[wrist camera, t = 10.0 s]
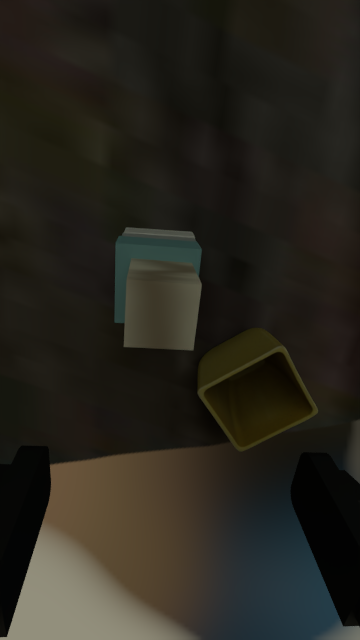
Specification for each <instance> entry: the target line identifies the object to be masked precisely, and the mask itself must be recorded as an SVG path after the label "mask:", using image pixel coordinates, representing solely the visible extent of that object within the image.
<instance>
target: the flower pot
mask: <svg viewBox="0 0 360 640" xmlns="http://www.w3.org/2000/svg"><path fill="white" fill-rule="evenodd" d="M197 393H198V395H199V397H200V399H201V400H202V401H203V403H204V404H205V406H206V407H207V408H208V410H209V411H210V413H211V414H212V415H213V417H214V418H215V420H216V421H217V423H218V424H219V425H220V427H221V428H222V429H223V431H224V432H225V434H226V435H227V437H228V438H229V440H230V441H231V443H232V444H233V445H234V447H235V448H236V449H237V450H238V451H240V452H241V451H244V450H246V449H249V448H251V447H253V446H255V445H257V444H259V443H260V442H263V441H265V440H267V439H269V438H270V437H273V436H275V435H277V434H279V433H281V432H283V431H285V430H287V429H289V428H291V427H293V426H295V425H297V424H299V423H302V422H303V421H305V420H307V419H309V418H311V417H313V416H314V415H315V414H317V413H318V409H317V407H316V405H315V403H314V401H313V400H312V398H311V396H310V395H309V393H308V391H307V389H306V388H305V386H304V384H303V382H302V380H301V378H300V376H299V374H298V372H297V370H296V368H295V366H294V364H293V362H292V360H291V358H290V356H289V354H288V352H287V350H286V348H285V347H284V346H283V345H282V344H281V343H280V342H279V341H277V340H276V339H275V338H274V337H273V336H272V335H271V334H270V333H268V332H267V331H266V330H264V329H261V328H251V329H248V330H245V331H243V332H242V333H240V334H238V335H236V336H234V337H233V338H231V339H229V340H227V341H225V342H224V343H222V344H220V345H218V346H216V347H214V348H213V349H211V350H210V351H208V352H207V353H206V354H205V355H204V356H203V357H202V359H201V360H200V362H199V366H198V391H197Z"/></svg>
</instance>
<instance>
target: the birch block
mask: <svg viewBox="0 0 360 640" xmlns="http://www.w3.org/2000/svg"><path fill="white" fill-rule="evenodd" d="M201 286H202V284H201V282H200V280H199V278H198V275H197V273H196V271H195V269H194V266H193V264H192V263H186V262H173V261H160V260H148V259H135V258H131V262H130V266H129V271H128V275H127V281H126V306H125V330H124V347H137V348H156V349H175V350H193V348H194V340H195V333H196V325H197V317H198V310H199V302H200V294H201Z"/></svg>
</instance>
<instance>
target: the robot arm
mask: <svg viewBox="0 0 360 640" xmlns="http://www.w3.org/2000/svg"><path fill="white" fill-rule="evenodd" d="M50 490H51V477H50V461H49V449H48V447H47V446H21V447H20V448H19V450H18V451H17V454H16V456H15V458H14V460H13V462H12V464H0V637H7V634H8V631H9V628H10V625H11V622H12V618H13V615H14V612H15V608H16V605H17V602H18V599H19V596H20V592H21V589H22V586H23V583H24V580H25V577H26V573H27V570H28V567H29V563H30V560H31V557H32V554H33V551H34V548H35V544H36V541H37V538H38V535H39V531H40V528H41V525H42V521H43V519H44V515H45V512H46V508H47V506H48V502H49V497H50ZM291 500H292V504H293V507H294V510H295V512H296V515H297V517H298V519H299V522H300V524H301V526H302V529H303V531H304V534H305V536H306V538H307V541H308V543H309V546H310V548H311V550H312V553H313V555H314V558H315V560H316V562H317V565H318V567H319V570H320V572H321V574H322V577H323V579H324V581H325V584H326V586H327V589H328V591H329V593H330V596H331V598H332V601H333V603H334V605H335V608H336V610H337V613H338V615H339V617H340V619H341V622H342V624H343V626H360V484H359V483H358V482H357V481H356V480H355V479H354V478H353V477H352V476H350V475H349V474H348V473H347V472H346V471H345V470H339V469H338V467H337V466H336V464H335V463H334V461H333V459H332V458H331V456H330V455H329V454H327V453H309V452H304V453H302V454H301V456H300V459H299V462H298V465H297V469H296V472H295V475H294V478H293V481H292V485H291Z"/></svg>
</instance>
